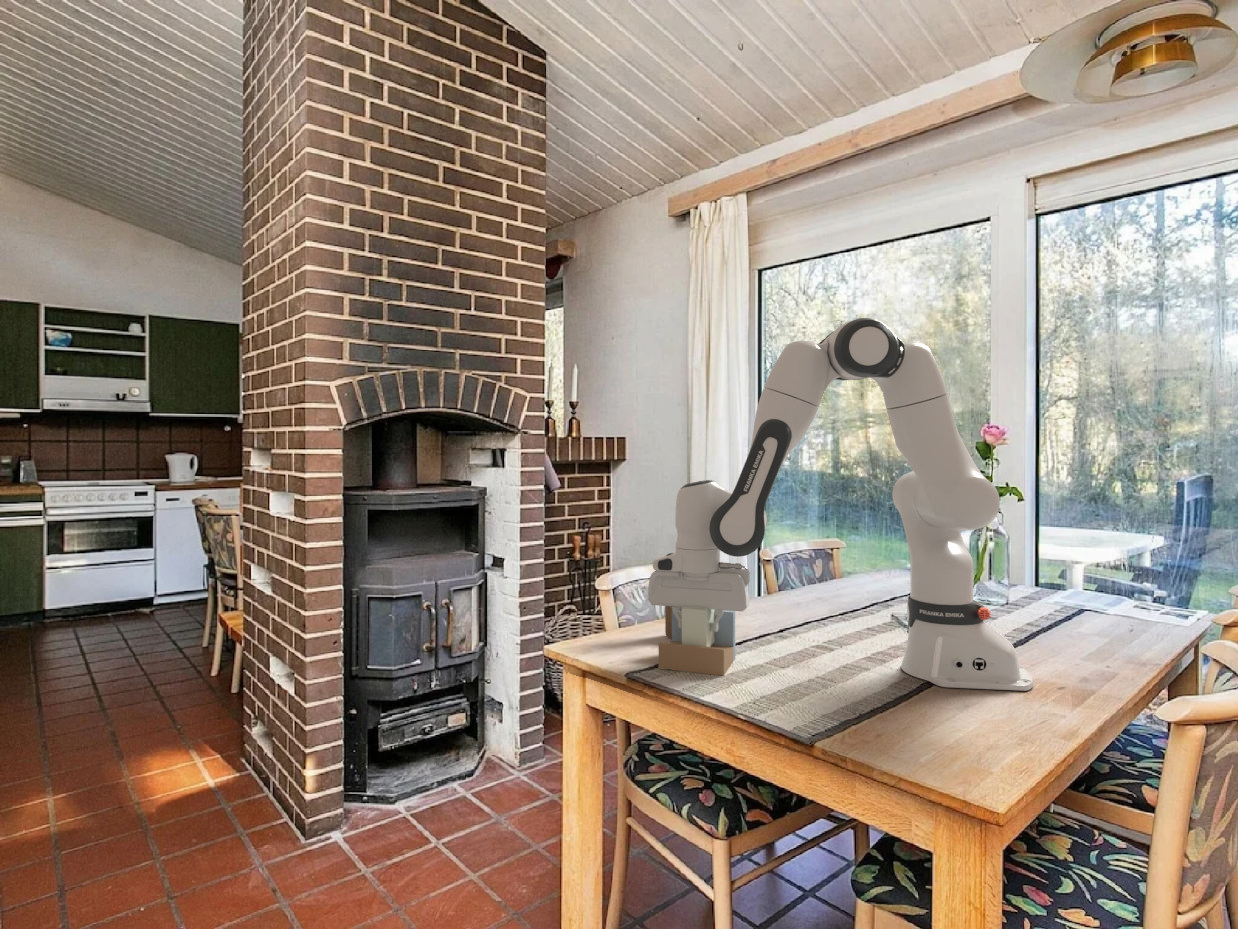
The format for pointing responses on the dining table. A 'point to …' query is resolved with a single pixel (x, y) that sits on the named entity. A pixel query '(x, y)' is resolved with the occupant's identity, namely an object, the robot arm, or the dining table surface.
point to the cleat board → (701, 649)
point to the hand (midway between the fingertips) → (698, 629)
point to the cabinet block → (697, 626)
